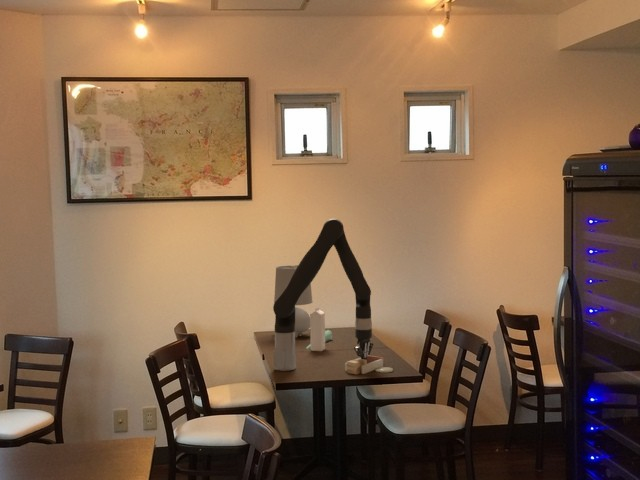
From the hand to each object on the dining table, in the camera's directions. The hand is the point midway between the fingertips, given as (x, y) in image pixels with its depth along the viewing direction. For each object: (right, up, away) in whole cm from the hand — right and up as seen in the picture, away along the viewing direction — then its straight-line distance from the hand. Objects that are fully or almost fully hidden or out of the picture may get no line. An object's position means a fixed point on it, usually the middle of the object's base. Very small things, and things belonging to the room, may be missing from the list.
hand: (364, 365), depth 320 cm
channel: (0, -2, 0) cm, 2 cm away
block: (-3, -2, -6) cm, 7 cm away
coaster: (+9, -2, -4) cm, 10 cm away
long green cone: (-21, +1, +55) cm, 59 cm away
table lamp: (-35, +2, +78) cm, 86 cm away
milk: (-21, 0, +41) cm, 46 cm away
